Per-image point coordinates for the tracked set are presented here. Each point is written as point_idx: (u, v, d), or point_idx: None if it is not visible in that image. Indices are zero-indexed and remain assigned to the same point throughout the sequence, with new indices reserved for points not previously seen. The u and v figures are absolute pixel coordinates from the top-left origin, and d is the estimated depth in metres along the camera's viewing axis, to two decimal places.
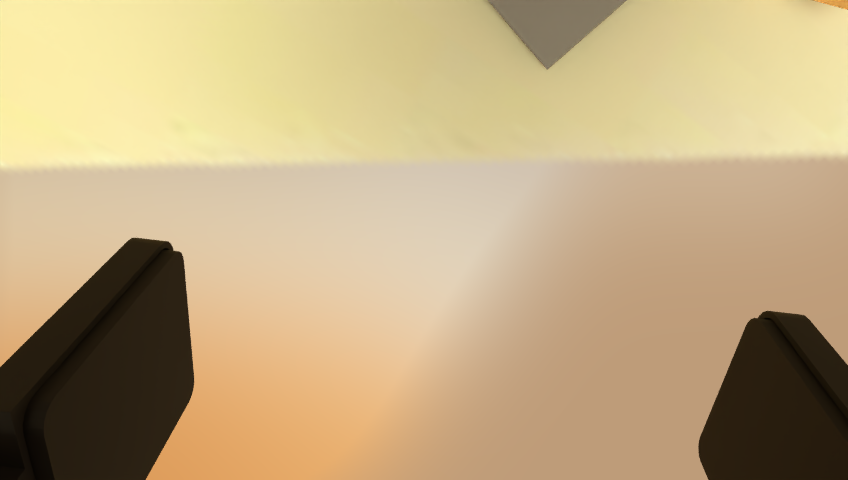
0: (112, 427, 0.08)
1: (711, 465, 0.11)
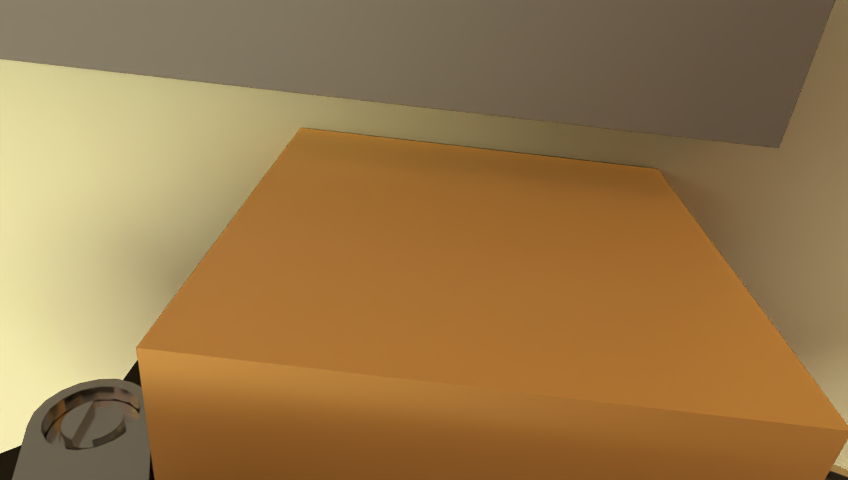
0: None
1: None
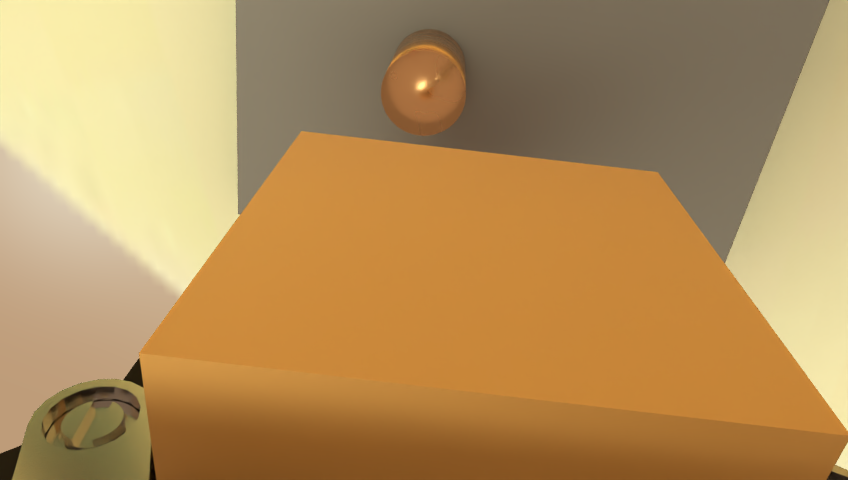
0: None
1: None
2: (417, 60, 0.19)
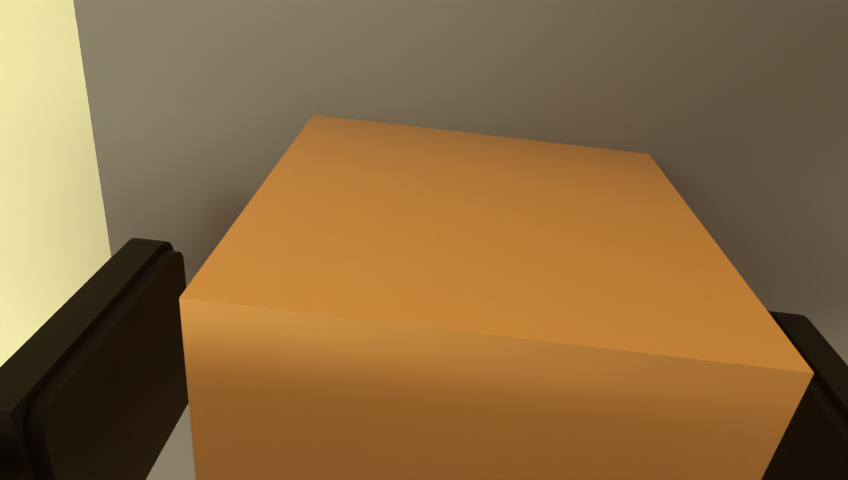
0: (112, 427, 0.08)
1: None
2: None
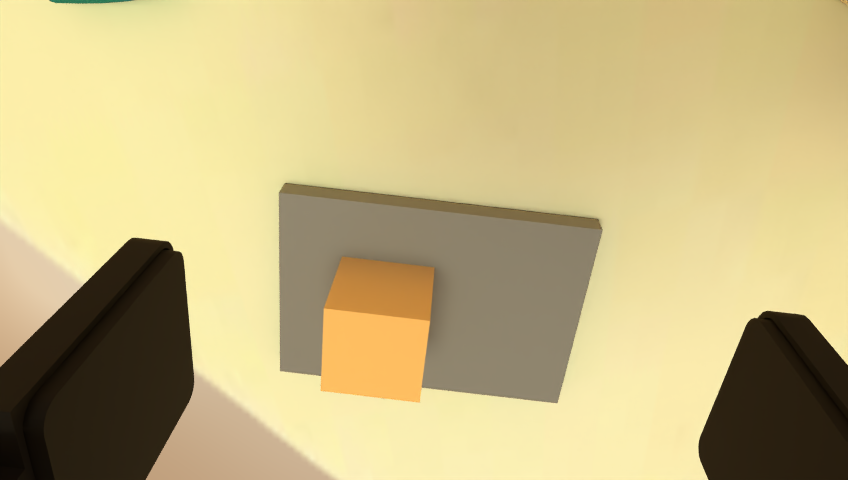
0: (112, 427, 0.08)
1: (711, 465, 0.11)
2: None
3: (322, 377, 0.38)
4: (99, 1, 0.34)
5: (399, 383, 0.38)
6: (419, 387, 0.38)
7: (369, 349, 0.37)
